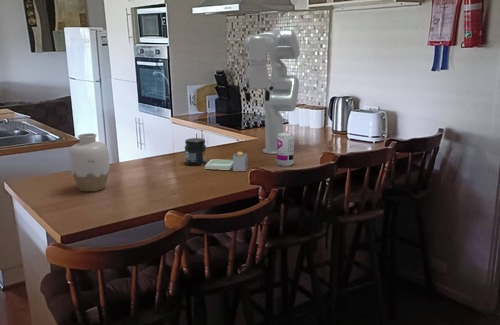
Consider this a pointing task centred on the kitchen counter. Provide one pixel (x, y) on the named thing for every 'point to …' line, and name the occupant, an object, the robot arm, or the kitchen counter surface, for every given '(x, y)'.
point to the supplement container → (195, 151)
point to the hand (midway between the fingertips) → (257, 101)
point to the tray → (219, 164)
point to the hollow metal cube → (239, 162)
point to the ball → (239, 154)
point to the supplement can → (285, 149)
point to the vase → (89, 163)
